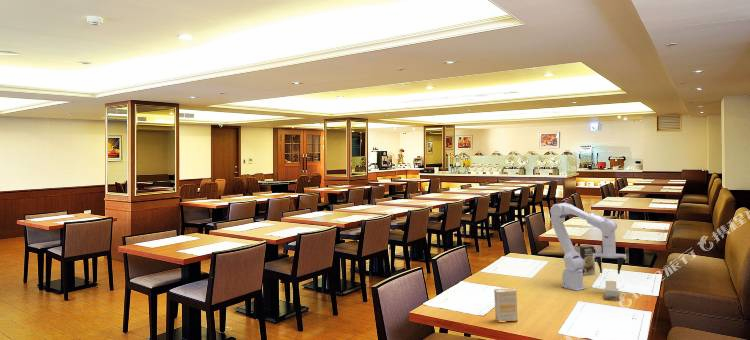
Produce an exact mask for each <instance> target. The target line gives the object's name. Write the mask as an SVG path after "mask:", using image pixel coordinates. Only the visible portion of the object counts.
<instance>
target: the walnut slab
mask: <svg viewBox="0 0 750 340" xmlns="http://www.w3.org/2000/svg"><path fill="white" fill-rule="evenodd" d="M602 294H603V301H608V302H620V296H619V297H615V296H606V294H605V292H602Z"/></svg>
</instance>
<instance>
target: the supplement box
mask: <svg viewBox="0 0 750 340" xmlns="http://www.w3.org/2000/svg"><path fill="white" fill-rule="evenodd" d="M493 290H494V291H493V294H494V313H495V314H494V315H495V320H496V319H497V320H498V321H518V304H517V303H518V302H517V301H518V298H517V297H518V296H517V290H516V289H514V288H512V287H511V288H494V289H493ZM497 320H496V321H497ZM498 321H497V322H498Z"/></svg>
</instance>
